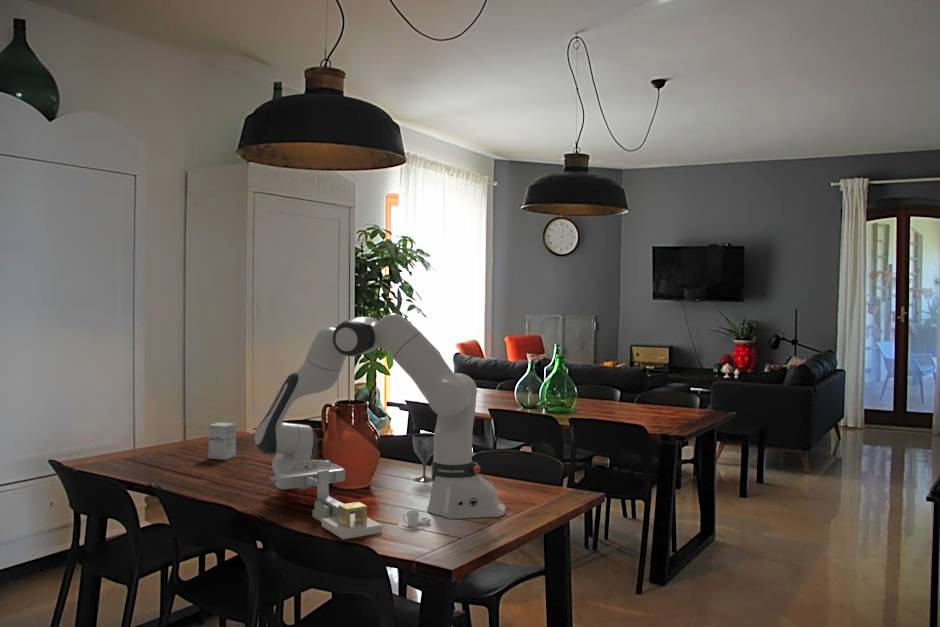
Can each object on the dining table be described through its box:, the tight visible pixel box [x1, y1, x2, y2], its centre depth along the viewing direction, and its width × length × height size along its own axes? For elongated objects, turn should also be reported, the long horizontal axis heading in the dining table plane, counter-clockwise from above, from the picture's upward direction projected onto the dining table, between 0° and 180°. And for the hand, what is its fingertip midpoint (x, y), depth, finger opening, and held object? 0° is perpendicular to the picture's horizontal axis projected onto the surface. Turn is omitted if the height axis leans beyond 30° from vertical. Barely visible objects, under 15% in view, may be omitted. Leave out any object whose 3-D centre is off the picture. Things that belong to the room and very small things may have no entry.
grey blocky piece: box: [312, 498, 339, 523], centre depth 220 cm, size 8×7×4 cm
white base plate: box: [321, 512, 383, 540], centre depth 210 cm, size 14×11×2 cm
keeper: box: [338, 501, 368, 528], centre depth 208 cm, size 5×6×5 cm
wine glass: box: [412, 432, 434, 483], centre depth 267 cm, size 8×8×15 cm
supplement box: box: [207, 422, 237, 461], centre depth 297 cm, size 7×7×13 cm
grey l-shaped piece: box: [316, 470, 344, 518], centre depth 218 cm, size 15×3×10 cm, turn 34°
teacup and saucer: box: [397, 510, 432, 531], centre depth 214 cm, size 9×8×4 cm
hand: (321, 482), depth 225 cm, fingers closed
